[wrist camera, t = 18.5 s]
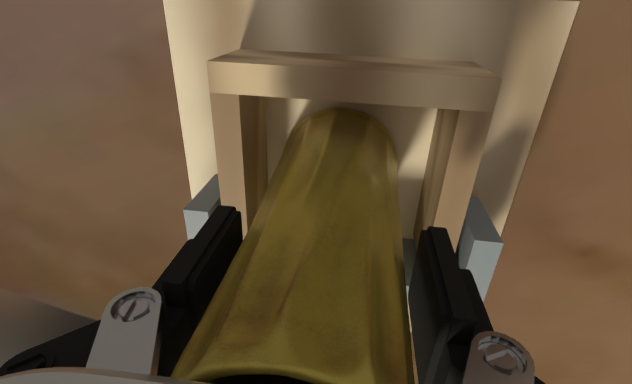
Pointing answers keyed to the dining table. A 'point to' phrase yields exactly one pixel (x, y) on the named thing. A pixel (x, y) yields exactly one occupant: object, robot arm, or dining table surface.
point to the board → (369, 91)
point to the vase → (315, 270)
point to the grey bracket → (472, 249)
